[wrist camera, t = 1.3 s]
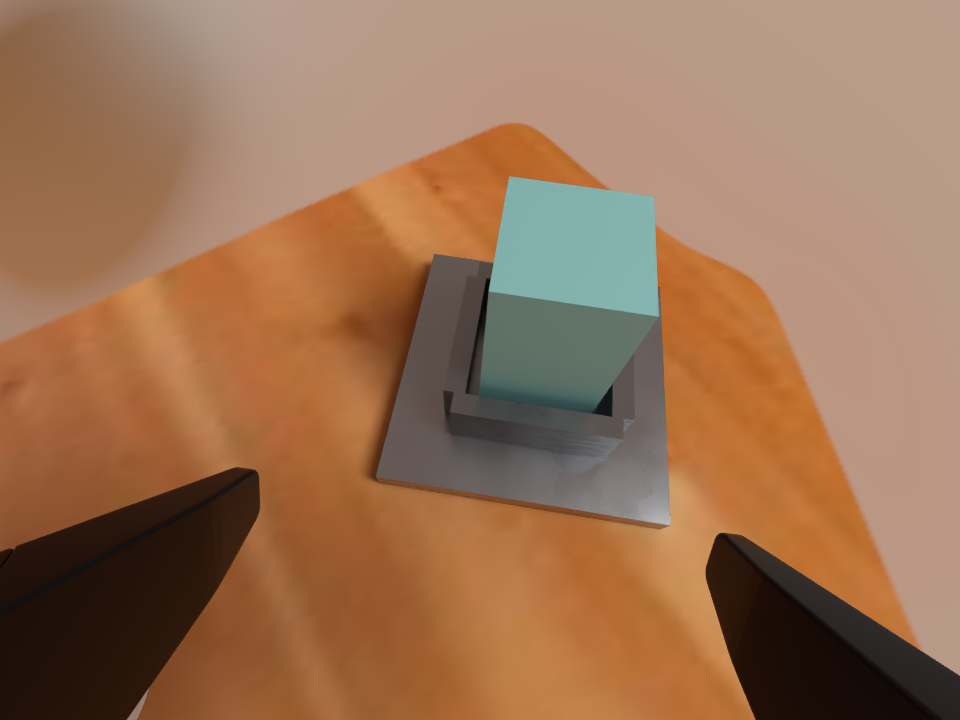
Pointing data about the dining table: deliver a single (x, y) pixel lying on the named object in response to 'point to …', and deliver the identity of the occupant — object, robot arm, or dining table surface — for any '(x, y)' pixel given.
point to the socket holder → (522, 421)
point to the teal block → (567, 293)
